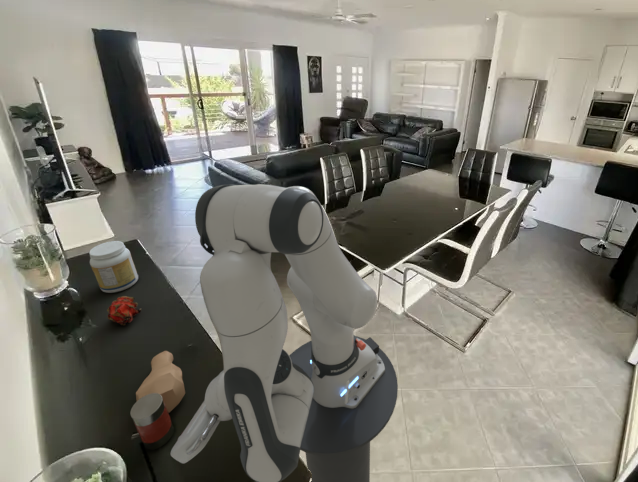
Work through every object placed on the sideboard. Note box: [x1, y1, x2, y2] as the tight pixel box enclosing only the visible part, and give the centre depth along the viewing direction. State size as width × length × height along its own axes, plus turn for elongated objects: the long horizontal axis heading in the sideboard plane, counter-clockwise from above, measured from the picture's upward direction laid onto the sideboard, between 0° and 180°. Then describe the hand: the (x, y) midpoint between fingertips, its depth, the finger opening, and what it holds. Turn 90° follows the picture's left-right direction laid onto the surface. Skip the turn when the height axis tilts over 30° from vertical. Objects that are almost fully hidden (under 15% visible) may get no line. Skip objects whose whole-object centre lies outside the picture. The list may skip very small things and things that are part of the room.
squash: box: [135, 350, 186, 413], centre depth 86 cm, size 11×20×9 cm, turn 35°
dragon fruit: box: [106, 295, 142, 326], centre depth 109 cm, size 8×8×12 cm
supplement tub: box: [89, 240, 139, 294], centre depth 124 cm, size 12×12×17 cm
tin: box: [130, 393, 175, 451], centre depth 74 cm, size 6×6×11 cm
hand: (197, 415), depth 71 cm, fingers open, 8 cm apart
